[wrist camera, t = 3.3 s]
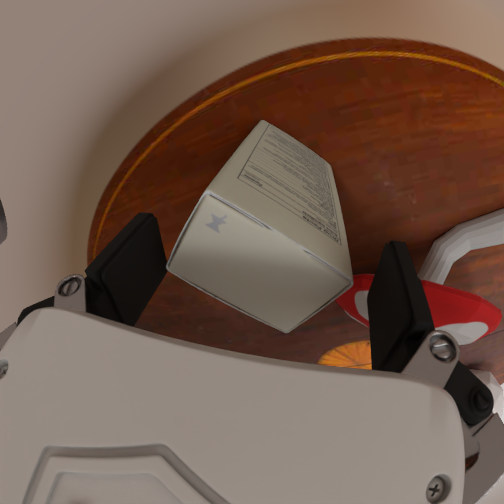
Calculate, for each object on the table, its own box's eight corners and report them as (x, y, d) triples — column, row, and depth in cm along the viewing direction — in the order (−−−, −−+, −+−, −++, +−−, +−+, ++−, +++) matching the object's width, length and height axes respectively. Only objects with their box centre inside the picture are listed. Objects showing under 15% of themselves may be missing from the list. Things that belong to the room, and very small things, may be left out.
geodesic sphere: (463, 422, 33) (493, 459, 19) (406, 432, 35) (429, 479, 21) (487, 355, 33) (530, 382, 18) (430, 361, 35) (470, 397, 21)
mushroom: (523, 287, 20) (552, 353, 12) (336, 319, 29) (333, 404, 21) (550, 190, 13) (606, 253, 5) (318, 215, 22) (314, 313, 14)
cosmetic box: (232, 163, 20) (154, 267, 11) (262, 116, 17) (195, 182, 8) (301, 208, 21) (286, 340, 12) (336, 167, 19) (358, 286, 9)
